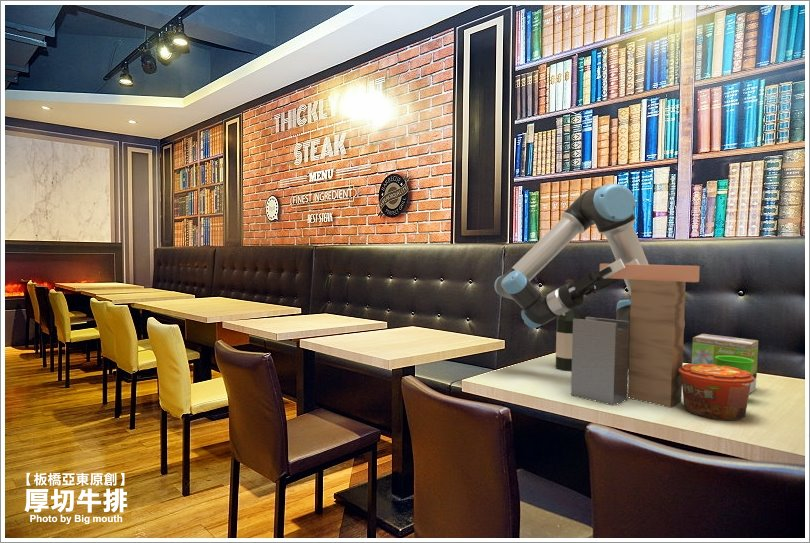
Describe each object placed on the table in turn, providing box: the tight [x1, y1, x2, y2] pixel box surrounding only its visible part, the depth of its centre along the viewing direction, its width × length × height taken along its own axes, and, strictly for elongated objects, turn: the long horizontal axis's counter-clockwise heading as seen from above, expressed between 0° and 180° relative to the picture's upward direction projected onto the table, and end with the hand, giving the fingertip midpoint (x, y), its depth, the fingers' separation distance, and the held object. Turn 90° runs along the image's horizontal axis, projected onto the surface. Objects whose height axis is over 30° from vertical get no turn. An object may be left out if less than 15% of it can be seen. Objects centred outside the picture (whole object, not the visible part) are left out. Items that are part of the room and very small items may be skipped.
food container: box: [678, 363, 754, 421], centre depth 126 cm, size 16×16×11 cm
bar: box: [599, 263, 701, 283], centre depth 137 cm, size 4×24×4 cm, turn 47°
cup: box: [715, 355, 754, 373], centre depth 139 cm, size 9×9×11 cm
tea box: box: [690, 333, 759, 394], centre depth 151 cm, size 15×10×15 cm
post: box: [627, 279, 687, 408], centre depth 136 cm, size 7×11×32 cm, turn 41°
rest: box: [570, 316, 629, 406], centre depth 137 cm, size 8×12×21 cm, turn 41°
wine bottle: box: [555, 279, 582, 372], centre depth 172 cm, size 8×8×30 cm
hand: (630, 263), depth 141 cm, fingers open, 9 cm apart
